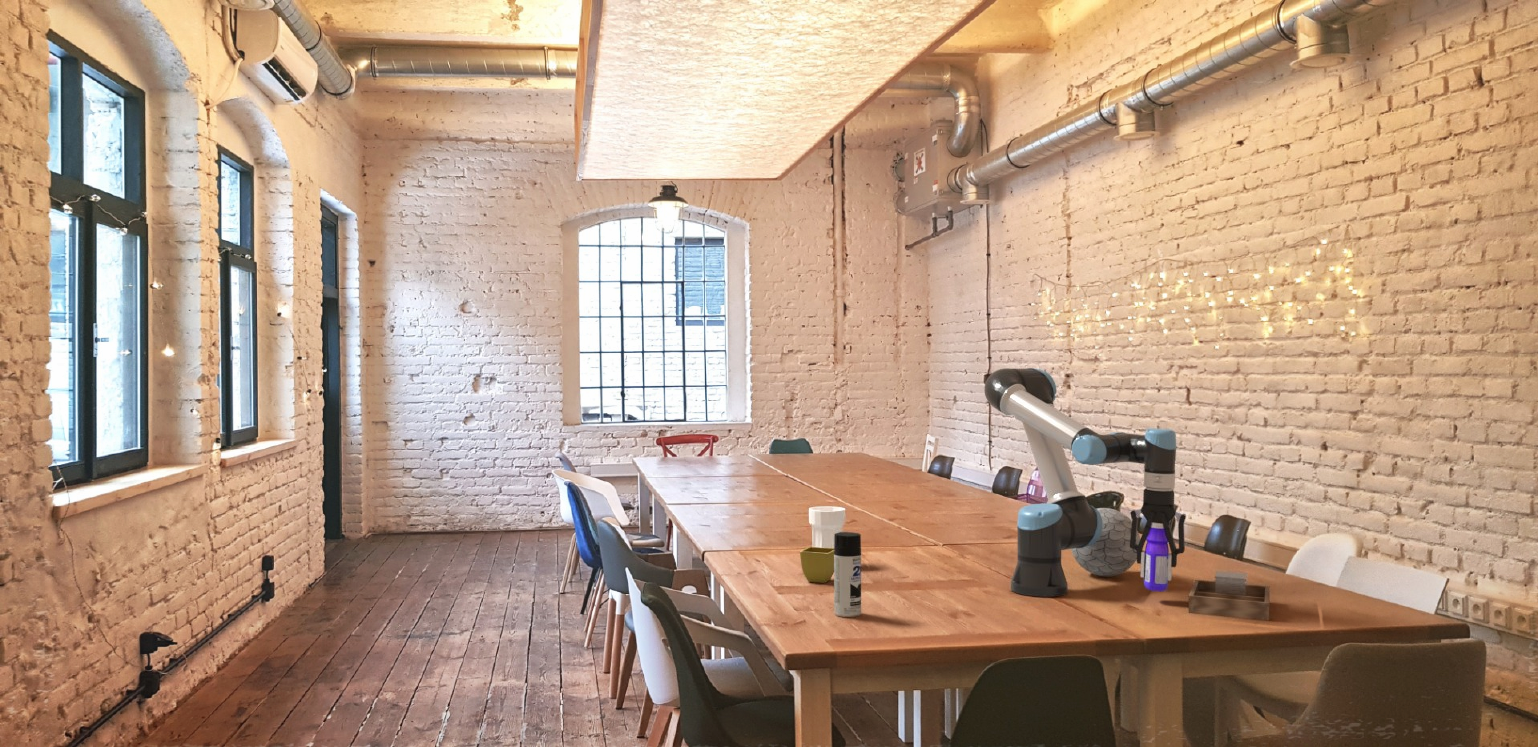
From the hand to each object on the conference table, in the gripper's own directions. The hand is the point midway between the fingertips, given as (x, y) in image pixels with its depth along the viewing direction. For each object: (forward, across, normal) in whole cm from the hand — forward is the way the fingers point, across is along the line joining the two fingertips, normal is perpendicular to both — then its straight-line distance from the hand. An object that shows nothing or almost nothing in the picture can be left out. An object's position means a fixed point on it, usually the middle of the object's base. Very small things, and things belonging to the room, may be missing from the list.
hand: (1156, 577), depth 276 cm
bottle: (+3, 0, 0) cm, 3 cm away
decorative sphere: (+8, -17, +32) cm, 38 cm away
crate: (+7, +18, +2) cm, 19 cm away
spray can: (+8, -67, -46) cm, 82 cm away
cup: (+10, -96, +10) cm, 97 cm away
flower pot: (+9, -89, -12) cm, 91 cm away
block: (+6, +18, +7) cm, 20 cm away
